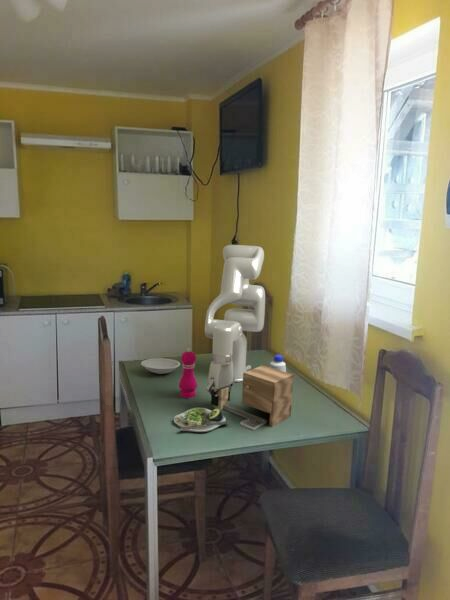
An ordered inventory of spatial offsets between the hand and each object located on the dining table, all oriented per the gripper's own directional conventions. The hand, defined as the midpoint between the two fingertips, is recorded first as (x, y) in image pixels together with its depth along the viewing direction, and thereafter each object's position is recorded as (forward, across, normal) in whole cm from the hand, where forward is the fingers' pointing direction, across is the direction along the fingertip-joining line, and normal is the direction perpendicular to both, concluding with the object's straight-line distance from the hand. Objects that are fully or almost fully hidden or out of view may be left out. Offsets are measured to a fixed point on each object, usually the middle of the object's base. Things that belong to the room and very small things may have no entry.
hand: (220, 402), depth 192 cm
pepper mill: (+2, 0, -17) cm, 17 cm away
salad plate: (+3, +14, +4) cm, 15 cm away
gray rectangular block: (+3, +4, +18) cm, 19 cm away
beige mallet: (+2, 0, +10) cm, 10 cm away
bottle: (+2, -18, +13) cm, 23 cm away
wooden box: (+2, -6, +17) cm, 18 cm away
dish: (+2, -9, -43) cm, 44 cm away
